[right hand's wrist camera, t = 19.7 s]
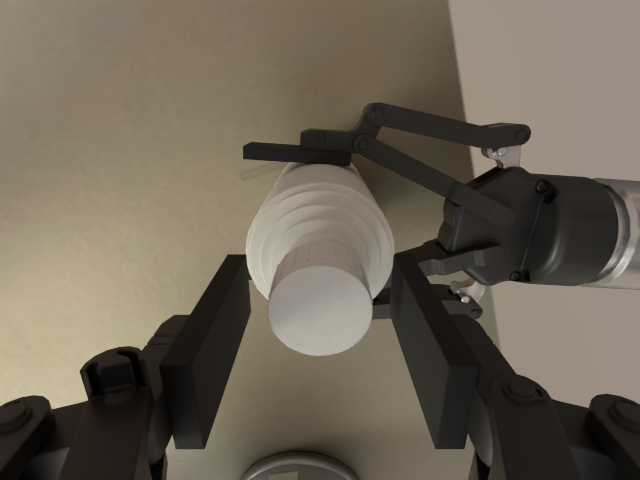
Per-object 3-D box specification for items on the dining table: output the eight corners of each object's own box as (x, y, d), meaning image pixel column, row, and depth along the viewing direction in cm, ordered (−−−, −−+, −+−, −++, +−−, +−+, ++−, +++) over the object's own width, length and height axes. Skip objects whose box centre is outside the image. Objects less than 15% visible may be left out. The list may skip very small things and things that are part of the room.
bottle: (281, 143, 28) (224, 195, 11) (371, 156, 28) (443, 225, 12) (272, 229, 31) (216, 373, 14) (355, 240, 31) (395, 393, 14)
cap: (304, 334, 16) (302, 372, 13) (256, 266, 14) (244, 296, 12) (381, 296, 15) (392, 329, 13) (337, 221, 14) (341, 244, 12)
